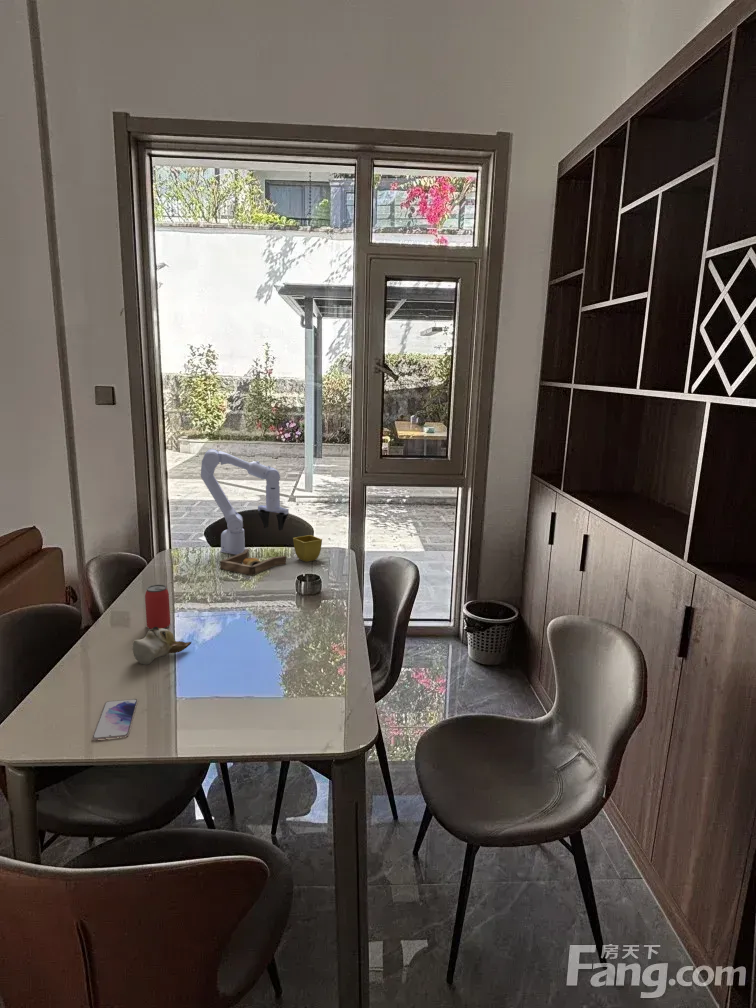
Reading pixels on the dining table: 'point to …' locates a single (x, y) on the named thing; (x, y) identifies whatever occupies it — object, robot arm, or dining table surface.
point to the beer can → (157, 606)
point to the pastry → (251, 561)
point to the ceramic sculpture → (156, 645)
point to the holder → (235, 565)
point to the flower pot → (307, 547)
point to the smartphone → (115, 719)
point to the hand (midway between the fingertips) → (273, 528)
